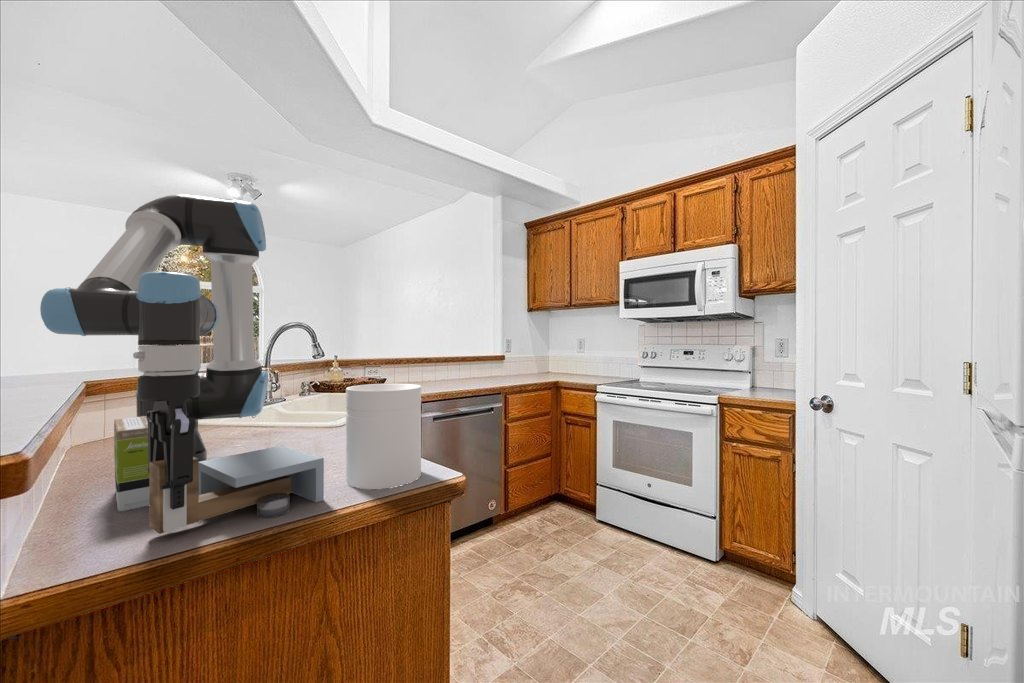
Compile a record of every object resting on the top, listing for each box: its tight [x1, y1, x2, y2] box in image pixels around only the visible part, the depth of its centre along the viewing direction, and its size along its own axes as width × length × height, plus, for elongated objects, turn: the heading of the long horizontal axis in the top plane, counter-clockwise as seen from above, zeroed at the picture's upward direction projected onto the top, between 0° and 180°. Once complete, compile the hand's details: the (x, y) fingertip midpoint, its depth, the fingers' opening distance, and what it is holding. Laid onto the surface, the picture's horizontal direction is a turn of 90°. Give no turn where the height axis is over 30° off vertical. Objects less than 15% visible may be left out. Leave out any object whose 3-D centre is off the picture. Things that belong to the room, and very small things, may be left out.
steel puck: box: [256, 493, 291, 519], centre depth 75 cm, size 5×5×2 cm
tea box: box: [113, 416, 150, 513], centre depth 83 cm, size 15×10×15 cm, turn 45°
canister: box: [345, 382, 422, 490], centre depth 94 cm, size 16×16×20 cm
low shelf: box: [199, 445, 325, 503], centre depth 79 cm, size 16×15×8 cm
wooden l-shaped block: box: [149, 457, 292, 535], centre depth 73 cm, size 4×20×10 cm, turn 147°
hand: (169, 524), depth 66 cm, fingers closed on wooden l-shaped block, 4 cm apart
